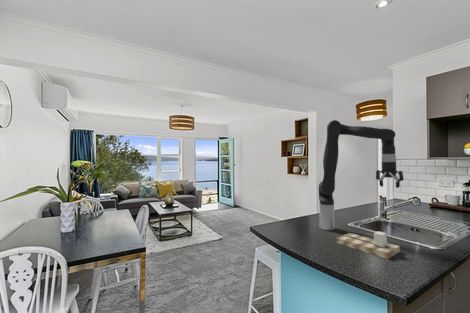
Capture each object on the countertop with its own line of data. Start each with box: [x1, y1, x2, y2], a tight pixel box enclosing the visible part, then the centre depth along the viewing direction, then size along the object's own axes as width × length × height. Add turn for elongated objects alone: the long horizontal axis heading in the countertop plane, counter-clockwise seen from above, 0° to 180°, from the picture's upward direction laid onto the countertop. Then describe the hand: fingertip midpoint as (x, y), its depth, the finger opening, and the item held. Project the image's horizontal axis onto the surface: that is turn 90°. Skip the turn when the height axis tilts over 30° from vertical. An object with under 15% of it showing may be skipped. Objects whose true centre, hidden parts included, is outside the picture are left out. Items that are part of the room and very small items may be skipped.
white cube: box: [372, 231, 389, 247], centre depth 115 cm, size 5×6×6 cm
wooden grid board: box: [336, 232, 401, 260], centre depth 121 cm, size 26×14×3 cm, turn 34°
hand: (389, 187), depth 139 cm, fingers open, 8 cm apart
